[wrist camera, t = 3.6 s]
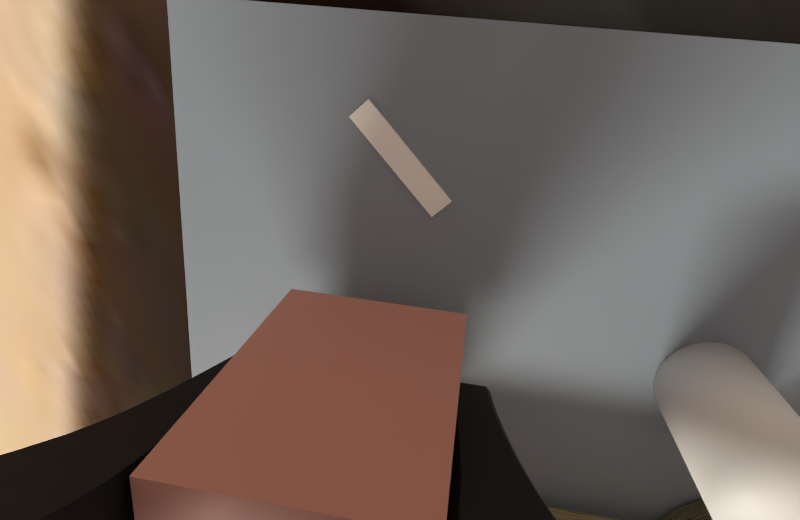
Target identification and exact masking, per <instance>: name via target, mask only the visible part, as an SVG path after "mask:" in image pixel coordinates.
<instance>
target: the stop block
mask: <svg viewBox="0 0 800 520" xmlns="http://www.w3.org/2000/svg"><path fill="white" fill-rule="evenodd" d="M466 318H467V314H463V313H456V312H449V311H442V310H435V309H428V308H421V307H414V306H407V305H400V304H393V303H386V302H379V301H373V300H366V299H359V298H352V297H345V296H338V295H331V294H324V293H317V292H310V291H303V290H296V289H291V290H290V291H289V292H288V294H287V295H286V296H285V297H284V298H283V299H282V300H281V302H280V303H279V304H278V305H277V306H276V307H275V309H274V310H273V311H272V312H271V313H270V314H269V315H268V317H267V318H266V319H265V320H264V321H263V322H262V324H261V325H260V326H259V327H258V328H257V329H256V331H255V332H254V333H253V334H252V335H251V336H250V337H249V339H248V340H247V341H246V342H245V343H244V344H243V346H242V347H241V348H240V349H239V350H238V351H237V352H236V354H235V355H234V356H233V357H232V358H231V359H230V361H229V362H228V363H227V364H226V365H225V366H224V367H223V369H222V370H221V371H220V372H219V373H218V374H217V376H216V377H215V378H214V379H213V380H212V381H211V382H210V384H209V385H208V386H207V387H206V388H205V389H204V391H203V392H202V393H201V394H200V395H199V396H198V397H197V399H196V400H195V401H194V402H193V403H192V404H191V406H190V407H189V408H188V409H187V410H186V411H185V413H184V414H183V415H182V416H181V417H180V418H179V419H178V421H177V422H176V423H175V424H174V425H173V426H172V428H171V429H170V430H169V431H168V432H167V433H166V434H165V436H164V437H163V438H162V439H161V440H160V441H159V443H158V444H157V445H156V446H155V447H154V448H153V449H152V451H151V452H150V453H149V454H148V455H147V456H146V458H145V459H144V460H143V461H142V462H141V463H140V464H139V466H138V467H137V468H136V469H135V470H134V471H133V473H132V474H131V475H130V476H129V478H130V486H131V494H132V502H133V510H134V519H135V520H447V510H448V500H449V490H450V479H451V469H452V459H453V449H454V439H455V429H456V419H457V409H458V399H459V389H460V379H461V369H462V358H463V348H464V338H465V328H466Z"/></svg>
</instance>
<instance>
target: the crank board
mask: <svg viewBox="0 0 800 520" xmlns="http://www.w3.org/2000/svg"><path fill="white" fill-rule="evenodd" d="M167 8H168V23H169V38H170V53H171V68H172V83H173V98H174V113H175V128H176V143H177V158H178V173H179V188H180V204H181V219H182V234H183V249H184V264H185V279H186V294H187V309H188V324H189V339H190V354H191V369H192V378H193V377H195V376H197V375H198V374H200V373H202V372H204V371H206V370H208V369H209V368H211V367H213V366H215V365H217V364H219V363H220V362H222V361H224V360H226V359H228V358H230V357H232V356H234V355H235V354H236V352H237V351H238V350H239V349H240V348H241V347H242V346H243V344H244V343H245V342H246V341H247V340H248V339H249V337H250V336H251V335H252V334H253V333H254V332H255V331H256V329H257V328H258V327H259V326H260V325H261V324H262V322H263V321H264V320H265V319H266V318H267V317H268V315H269V314H270V313H271V312H272V311H273V310H274V309H275V307H276V306H277V305H278V304H279V303H280V302H281V300H282V299H283V298H284V297H285V296H286V295H287V294H288V292H289V291H290V290H291V289H296V290H303V291H310V292H317V293H324V294H331V295H338V296H345V297H352V298H359V299H366V300H373V301H379V302H386V303H393V304H400V305H407V306H414V307H421V308H428V309H435V310H442V311H449V312H456V313H463V314H467V318H466V328H465V338H464V348H463V358H462V369H461V379H460V382H461V383H467V384H474V385H480V386H486V387H487V388H488V390H489V391H490V393H491V397H492V400H493V403H494V406H495V409H496V412H497V414H498V417H499V419H500V421H501V424H502V426H503V429H504V431H505V433H506V435H507V437H508V439H509V441H510V443H511V445H512V447H513V449H514V451H515V453H516V455H517V457H518V459H519V461H520V463H521V465H522V466H523V468H524V470H525V472H526V473H527V475H528V477H529V479H530V480H531V482H532V484H533V485H534V487H535V489H536V490H537V492H538V493H539V495H540V497H541V498H542V500H543V501H544V503H545V504H546V506H547V507H551V508H557V509H562V510H568V511H573V512H579V513H584V514H590V515H596V516H601V517H607V518H612V519H618V520H662V519H663V518H664V517H665V516H667V515H668V514H670V513H671V512H673V511H675V510H677V509H678V508H680V507H682V506H685V505H687V504H690V503H693V502H696V501H700V500H703V501H704V503H705V505H706V507H707V509H708V511H709V513H710V516H711V518H712V520H800V44H792V43H779V42H767V41H754V40H741V39H729V38H716V37H704V36H691V35H678V34H666V33H653V32H640V31H628V30H615V29H603V28H590V27H577V26H565V25H552V24H540V23H527V22H514V21H502V20H489V19H477V18H464V17H451V16H439V15H426V14H414V13H401V12H388V11H376V10H363V9H350V8H338V7H325V6H313V5H300V4H287V3H275V2H262V1H250V0H167Z"/></svg>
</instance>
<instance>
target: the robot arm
mask: <svg viewBox="0 0 800 520" xmlns="http://www.w3.org/2000/svg"><path fill="white" fill-rule="evenodd" d="M232 357H233V356H232ZM232 357H230V358H228V359H226V360H224V361H222V362H220V363H219V364H217V365H215V366H213V367H211V368H209V369H208V370H206V371H204V372H202V373H200V374H198V375H197V376H195V377H193V378H191V379H189V380H187V381H185V382H183V383H182V384H180V385H178V386H176V387H174V388H172V389H170V390H168V391H166V392H164V393H162V394H160V395H158V396H156V397H153V398H151V399H149V400H147V401H145V402H143V403H141V404H139V405H137V406H135V407H133V408H131V409H129V410H126V411H124V412H122V413H120V414H117V415H115V416H113V417H110V418H108V419H105V420H103V421H100V422H98V423H95V424H93V425H90V426H88V427H85V428H82V429H80V430H77V431H74V432H72V433H69V434H66V435H63V436H60V437H57V438H54V439H51V440H48V441H45V442H41V443H38V444H35V445H32V446H29V447H26V448H23V449H20V450H16V451H13V452H10V453H6V454H3V455H0V520H135V519H134V510H133V502H132V494H131V486H130V478H129V476H130V475H131V474H132V473H133V471H134V470H135V469H136V468H137V467H138V466H139V464H140V463H141V462H142V461H143V460H144V459H145V458H146V456H147V455H148V454H149V453H150V452H151V451H152V449H153V448H154V447H155V446H156V445H157V444H158V443H159V441H160V440H161V439H162V438H163V437H164V436H165V434H166V433H167V432H168V431H169V430H170V429H171V428H172V426H173V425H174V424H175V423H176V422H177V421H178V419H179V418H180V417H181V416H182V415H183V414H184V413H185V411H186V410H187V409H188V408H189V407H190V406H191V404H192V403H193V402H194V401H195V400H196V399H197V397H198V396H199V395H200V394H201V393H202V392H203V391H204V389H205V388H206V387H207V386H208V385H209V384H210V382H211V381H212V380H213V379H214V378H215V377H216V376H217V374H218V373H219V372H220V371H221V370H222V369H223V367H224V366H225V365H226V364H227V363H228V362H229V361H230V359H231V358H232ZM447 520H556V519H555V517H554V516H553V514H552V513H551V511H550V510H549V509H548V507H547V506H546V504H545V503H544V501H543V500H542V498H541V497H540V495H539V493H538V492H537V490H536V489H535V487H534V485H533V484H532V482H531V480H530V479H529V477H528V475H527V473H526V472H525V470H524V468H523V466H522V465H521V463H520V461H519V459H518V457H517V455H516V453H515V451H514V449H513V447H512V445H511V443H510V441H509V439H508V437H507V435H506V433H505V431H504V429H503V426H502V424H501V421H500V419H499V417H498V414H497V412H496V409H495V406H494V403H493V400H492V397H491V393H490V391H489V390H488V388H487V387H486V386H480V385H474V384H467V383H461V382H460V389H459V399H458V409H457V419H456V429H455V439H454V449H453V459H452V469H451V479H450V490H449V500H448V510H447Z"/></svg>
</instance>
